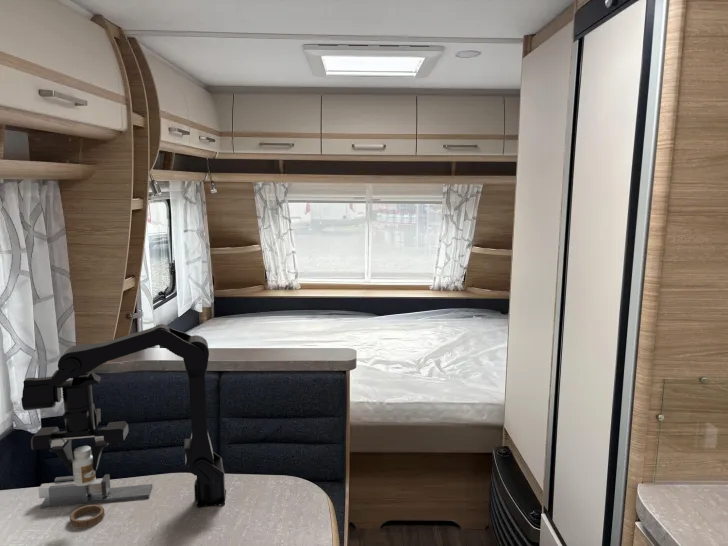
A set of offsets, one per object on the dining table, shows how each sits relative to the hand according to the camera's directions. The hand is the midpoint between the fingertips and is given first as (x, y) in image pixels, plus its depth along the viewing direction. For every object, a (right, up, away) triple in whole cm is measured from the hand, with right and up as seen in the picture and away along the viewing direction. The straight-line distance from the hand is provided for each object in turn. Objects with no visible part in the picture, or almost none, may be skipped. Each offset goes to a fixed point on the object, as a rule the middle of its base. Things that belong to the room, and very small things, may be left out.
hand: (84, 471), depth 128 cm
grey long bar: (-7, -9, +10) cm, 15 cm away
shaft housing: (-2, -10, +11) cm, 15 cm away
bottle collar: (0, -11, +2) cm, 11 cm away
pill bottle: (0, -3, 0) cm, 3 cm away
